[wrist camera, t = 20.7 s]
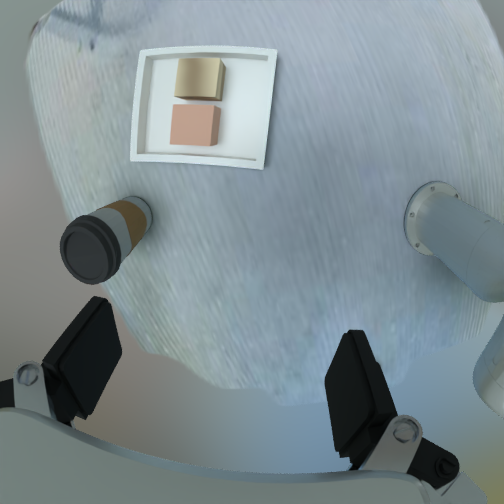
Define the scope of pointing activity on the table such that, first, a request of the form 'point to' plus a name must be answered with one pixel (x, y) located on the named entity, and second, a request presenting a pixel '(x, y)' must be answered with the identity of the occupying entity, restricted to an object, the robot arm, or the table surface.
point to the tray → (232, 105)
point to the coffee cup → (104, 239)
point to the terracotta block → (195, 125)
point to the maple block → (200, 79)
